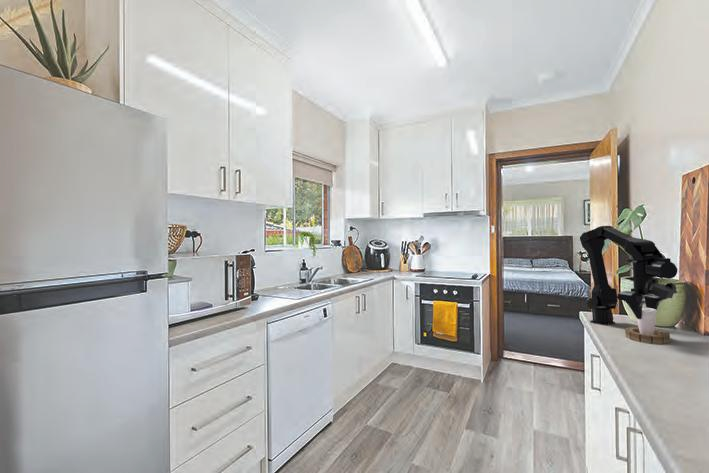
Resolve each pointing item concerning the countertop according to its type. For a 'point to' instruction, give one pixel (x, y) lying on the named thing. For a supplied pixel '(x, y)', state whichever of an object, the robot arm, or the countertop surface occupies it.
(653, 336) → the walnut ring
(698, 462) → the countertop surface
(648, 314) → the smoothie
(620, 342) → the countertop surface
